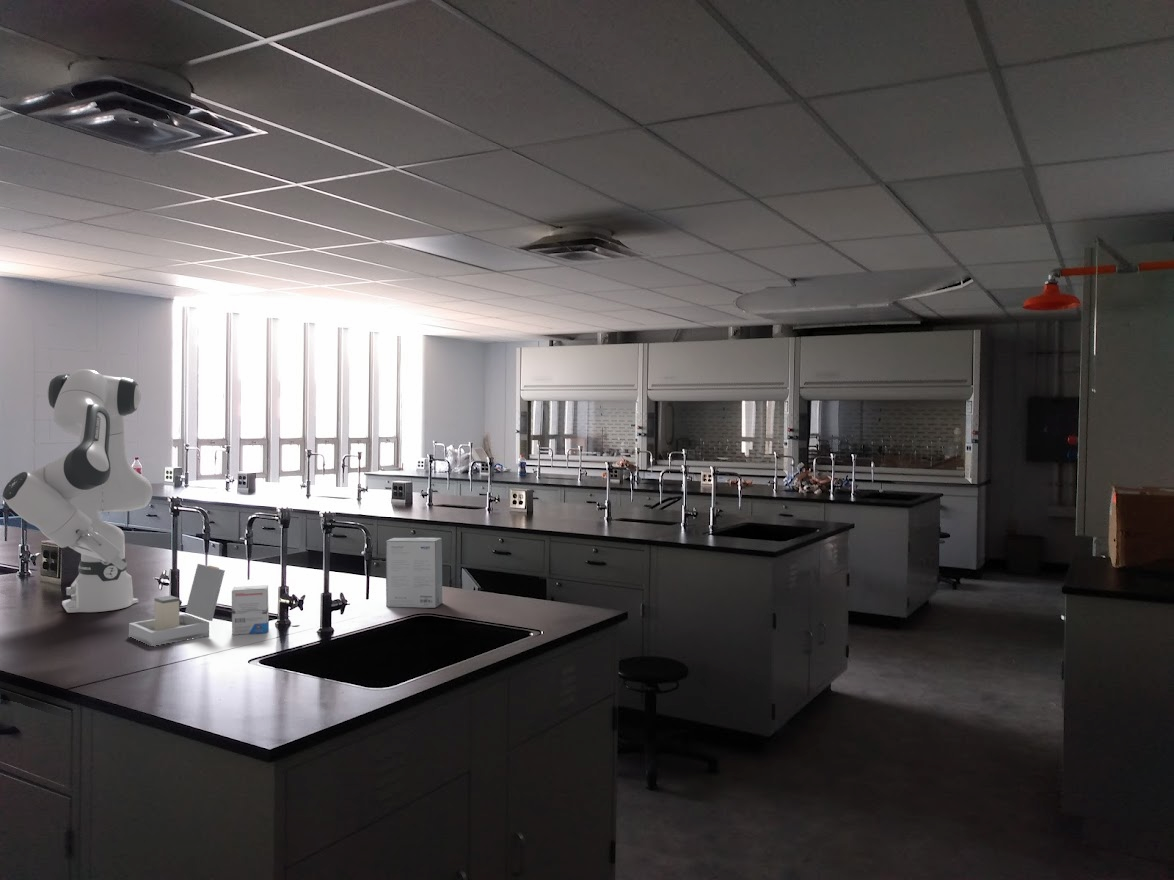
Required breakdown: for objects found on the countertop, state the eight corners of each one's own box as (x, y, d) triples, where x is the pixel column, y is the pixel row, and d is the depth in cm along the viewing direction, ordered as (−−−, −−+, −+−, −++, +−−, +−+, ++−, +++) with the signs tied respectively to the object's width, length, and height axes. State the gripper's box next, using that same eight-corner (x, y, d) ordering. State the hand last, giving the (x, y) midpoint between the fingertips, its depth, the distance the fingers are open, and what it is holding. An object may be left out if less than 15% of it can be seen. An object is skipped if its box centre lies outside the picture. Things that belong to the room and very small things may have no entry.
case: (128, 637, 209) (128, 623, 209) (185, 626, 219) (185, 613, 219) (151, 647, 200) (151, 632, 199) (209, 635, 210) (209, 622, 210)
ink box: (269, 628, 218) (269, 584, 218) (267, 633, 213) (267, 588, 213) (234, 630, 216) (234, 586, 215) (231, 635, 211) (231, 590, 211)
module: (154, 631, 209) (154, 597, 209) (171, 628, 212) (170, 595, 212) (162, 634, 206) (162, 600, 206) (179, 631, 209) (179, 598, 209)
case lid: (197, 563, 222) (203, 563, 223) (185, 612, 219) (191, 612, 220) (222, 569, 212) (227, 570, 214) (209, 620, 210) (215, 621, 211)
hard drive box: (443, 603, 250) (443, 537, 249) (436, 608, 242) (436, 541, 242) (393, 601, 251) (393, 536, 251) (384, 607, 244) (384, 540, 243)
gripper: (97, 522, 187) (143, 559, 195) (66, 514, 200) (110, 550, 208) (75, 544, 184) (122, 581, 191) (45, 535, 197) (91, 570, 205)
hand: (116, 564), depth 200 cm, fingers open, 8 cm apart
